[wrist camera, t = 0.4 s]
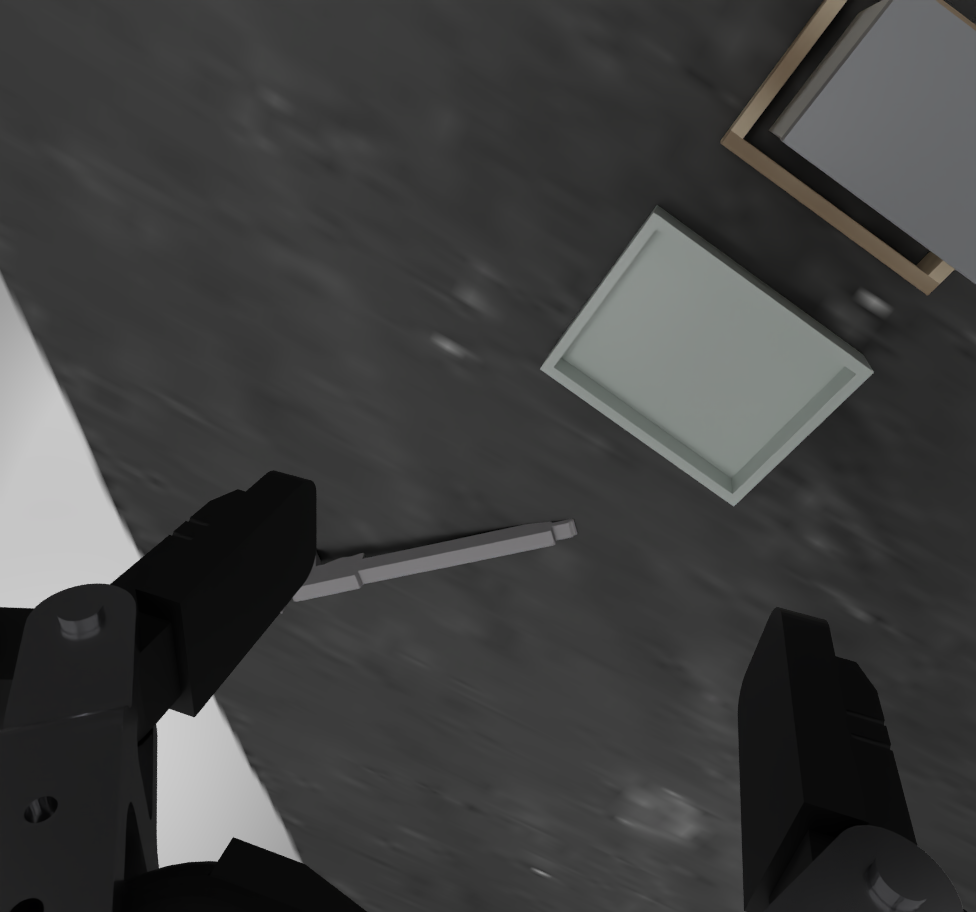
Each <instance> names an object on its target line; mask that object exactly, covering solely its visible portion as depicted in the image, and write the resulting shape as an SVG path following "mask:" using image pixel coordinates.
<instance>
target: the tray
mask: <svg viewBox="0 0 976 912" xmlns="http://www.w3.org/2000/svg"><path fill="white" fill-rule="evenodd" d="M540 369H541V370H542V371H543V372H545V373H546V374H548V375H549V376H550V377H552V378H553V379H555V380H556V381H557V382H559V383H560V384H562V385H563V386H564V387H566V388H567V389H569V390H570V391H572V392H573V393H574V394H576V395H577V396H579V397H580V398H581V399H583V400H584V401H586V402H587V403H588V404H590V405H591V406H593V407H594V408H596V409H597V410H598V411H600V412H601V413H603V414H604V415H605V416H607V417H608V418H610V419H611V420H612V421H614V422H615V423H617V424H618V425H619V426H621V427H622V428H624V429H625V430H627V431H628V432H629V433H631V434H632V435H634V436H635V437H636V438H638V439H639V440H641V441H642V442H643V443H645V444H646V445H648V446H649V447H650V448H652V449H653V450H655V451H656V452H658V453H659V454H660V455H662V456H663V457H665V458H666V459H667V460H669V461H670V462H672V463H673V464H674V465H676V466H677V467H679V468H680V469H682V470H683V471H684V472H686V473H687V474H689V475H690V476H691V477H693V478H694V479H696V480H697V481H698V482H700V483H701V484H703V485H704V486H705V487H707V488H708V489H710V490H711V491H713V492H714V493H715V494H717V495H718V496H720V497H721V498H722V499H724V500H725V501H727V502H728V503H729V504H731V505H732V506H735V505H736V504H737V503H738V502H739V501H740V500H741V499H742V498H743V497H744V496H745V495H746V494H747V493H748V492H749V491H750V490H751V489H752V488H754V487H755V486H756V485H757V484H758V483H759V482H760V481H761V480H762V479H763V478H764V477H765V476H766V475H767V474H768V473H769V472H770V471H771V470H772V469H773V468H774V467H776V466H777V465H778V464H779V463H780V462H781V461H782V460H783V459H784V458H785V457H786V456H787V455H788V454H789V453H790V452H791V451H792V450H793V449H794V448H795V447H796V446H798V445H799V444H800V443H801V442H802V441H803V440H804V439H805V438H806V437H807V436H808V435H809V434H810V433H811V432H812V431H813V430H814V429H815V428H816V427H817V426H818V425H819V424H821V423H822V422H823V421H824V420H825V419H826V418H827V417H828V416H829V415H830V414H831V413H832V412H833V411H834V410H835V409H836V408H837V407H838V406H839V405H840V404H841V403H843V402H844V401H845V400H846V399H847V398H848V397H849V396H850V395H851V394H852V393H853V392H854V391H855V390H856V389H857V388H858V387H859V386H860V385H861V384H862V383H863V382H864V381H866V380H867V379H868V378H869V377H870V376H871V375H872V374H873V373H874V371H873V370H872V368H871V366H870V365H869V363H868V362H867V360H866V358H865V357H864V355H863V354H862V353H860V352H859V351H858V350H856V349H855V348H854V347H852V346H851V345H849V344H848V343H847V342H845V341H844V340H843V339H841V338H840V337H838V336H837V335H836V334H834V333H833V332H832V331H830V330H829V329H827V328H826V327H825V326H823V325H822V324H821V323H819V322H818V321H816V320H815V319H814V318H812V317H811V316H810V315H808V314H807V313H805V312H804V311H803V310H801V309H800V308H799V307H797V306H796V305H794V304H793V303H792V302H790V301H789V300H788V299H786V298H785V297H783V296H782V295H781V294H779V293H778V292H777V291H775V290H774V289H772V288H771V287H770V286H768V285H767V284H766V283H764V282H763V281H761V280H760V279H759V278H757V277H756V276H755V275H753V274H752V273H750V272H749V271H748V270H746V269H745V268H744V267H742V266H741V265H739V264H738V263H737V262H735V261H734V260H733V259H731V258H730V257H728V256H727V255H726V254H724V253H723V252H722V251H720V250H719V249H717V248H716V247H715V246H713V245H712V244H711V243H709V242H708V241H706V240H705V239H704V238H702V237H701V236H700V235H698V234H697V233H695V232H694V231H693V230H691V229H690V228H689V227H687V226H686V225H684V224H683V223H682V222H680V221H679V220H678V219H676V218H675V217H673V216H672V215H671V214H669V213H668V212H667V211H665V210H664V209H663V208H661V207H660V206H658V205H656V207H655V208H654V210H653V211H652V212H651V214H650V215H649V216H648V218H647V219H646V221H645V222H644V223H643V225H642V226H641V228H640V229H639V230H638V232H637V233H636V234H635V236H634V237H633V239H632V240H631V241H630V243H629V244H628V245H627V247H626V248H625V250H624V251H623V252H622V254H621V255H620V257H619V258H618V259H617V261H616V262H615V263H614V265H613V266H612V268H611V269H610V270H609V272H608V273H607V274H606V276H605V277H604V279H603V280H602V281H601V283H600V284H599V285H598V287H597V288H596V290H595V291H594V292H593V294H592V295H591V297H590V298H589V299H588V301H587V302H586V303H585V305H584V306H583V308H582V309H581V310H580V312H579V313H578V314H577V316H576V317H575V319H574V320H573V321H572V323H571V324H570V326H569V327H568V328H567V330H566V331H565V332H564V334H563V335H562V337H561V338H560V339H559V341H558V342H557V343H556V345H555V346H554V348H553V349H552V350H551V352H550V353H549V355H548V356H547V358H546V360H545V361H544V363H543V365H542V366H541V368H540Z"/></svg>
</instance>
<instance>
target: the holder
mask: <svg viewBox="0 0 976 912" xmlns="http://www.w3.org/2000/svg"><path fill="white" fill-rule="evenodd" d="M846 1H847V0H824V1H823V2H822V3H821V5H820V6H819V8H818V9H817V10H816V12H815V13H814V14H813V16H812V17H811V18H810V20H809V21H808V22H807V24H806V25H805V27H804V28H803V29H802V31H801V32H800V33H799V35H798V36H797V37H796V39H795V40H794V41H793V43H792V44H791V46H790V47H789V48H788V50H787V51H786V52H785V54H784V55H783V56H782V58H781V59H780V60H779V62H778V63H777V64H776V66H775V67H774V69H773V70H772V71H771V73H770V74H769V75H768V77H767V78H766V79H765V81H764V82H763V83H762V85H761V86H760V88H759V89H758V90H757V92H756V93H755V94H754V96H753V97H752V98H751V100H750V101H749V102H748V104H747V105H746V107H745V108H744V109H743V111H742V112H741V113H740V115H739V116H738V117H737V119H736V120H735V121H734V123H733V124H732V126H731V127H730V128H729V130H728V131H727V132H726V134H725V135H724V136H723V138H722V139H721V140H720V142H721V144H722V145H724V146H725V147H726V148H728V149H729V150H730V151H732V152H733V153H734V154H736V155H737V156H739V157H740V158H741V159H743V160H744V161H745V162H747V163H748V164H749V165H751V166H752V167H753V168H755V169H756V170H758V171H759V172H760V173H762V174H763V175H764V176H766V177H767V178H768V179H770V180H771V181H773V182H774V183H775V184H777V185H778V186H779V187H781V188H782V189H783V190H785V191H786V192H787V193H789V194H790V195H792V196H793V197H794V198H796V199H797V200H798V201H800V202H801V203H802V204H804V205H805V206H807V207H808V208H809V209H811V210H812V211H813V212H815V213H816V214H817V215H819V216H820V217H821V218H823V219H824V220H826V221H827V222H828V223H830V224H831V225H832V226H834V227H835V228H836V229H838V230H839V231H841V232H842V233H843V234H845V235H846V236H847V237H849V238H850V239H851V240H853V241H854V242H855V243H857V244H858V245H860V246H861V247H862V248H864V249H865V250H866V251H868V252H869V253H870V254H872V255H873V256H875V257H876V258H877V259H879V260H880V261H881V262H883V263H884V264H885V265H887V266H888V267H889V268H891V269H892V270H894V271H895V272H896V273H898V274H899V275H900V276H902V277H903V278H904V279H906V280H907V281H909V282H910V283H911V284H913V285H914V286H915V287H917V288H918V289H919V290H921V291H922V292H924V293H925V294H926V295H929V294H930V293H931V292H932V291H933V290H934V289H935V288H936V287H937V286H938V285H939V284H940V283H941V282H942V281H943V280H944V279H945V278H946V277H947V276H948V275H949V274H950V273H951V272H952V271H953V270H954V268H953V267H951V266H950V265H949V264H947V263H946V262H944V261H943V260H942V259H940V258H939V257H938V256H936V255H935V254H934V253H932V252H931V251H930V252H929V253H928V254H927V255H926V256H925V257H924V258H923V259H922V260H921V261H920V262H919V263H918V264H917V265H914V264H913V263H912V262H910V261H909V260H908V259H906V258H905V257H904V256H902V255H901V254H900V253H898V252H897V251H895V250H894V249H893V248H891V247H890V246H889V245H887V244H886V243H885V242H883V241H882V240H881V239H879V238H878V237H876V236H875V235H874V234H872V233H871V232H870V231H868V230H867V229H866V228H864V227H863V226H862V225H860V224H859V223H857V222H856V221H855V220H853V219H852V218H851V217H849V216H848V215H847V214H845V213H844V212H843V211H841V210H840V209H838V208H837V207H836V206H834V205H833V204H832V203H830V202H829V201H828V200H826V199H825V198H824V197H822V196H821V195H819V194H818V193H817V192H815V191H814V190H813V189H811V188H810V187H809V186H807V185H806V184H805V183H803V182H802V181H800V180H799V179H798V178H796V177H795V176H794V175H792V174H791V173H790V172H788V171H787V170H786V169H784V168H783V167H781V166H780V165H779V164H777V163H776V162H775V161H773V160H772V159H771V158H769V157H768V156H767V155H765V154H764V153H762V152H761V151H760V150H758V149H757V148H756V147H754V146H753V145H752V144H750V143H749V142H748V141H746V140H745V139H743V138H744V137H745V135H746V134H747V133H748V131H749V130H750V129H751V127H752V126H753V125H754V123H755V122H756V121H757V119H758V118H759V117H760V115H761V114H762V113H763V111H764V110H765V109H766V107H767V106H768V105H769V103H770V102H771V101H772V99H773V98H774V97H775V95H776V94H777V93H778V91H779V90H780V89H781V87H782V86H783V85H784V83H785V82H786V81H787V79H788V78H789V77H790V75H791V74H792V73H793V72H794V70H795V69H796V68H797V66H798V65H799V64H800V62H801V61H802V60H803V58H804V57H805V56H806V54H807V53H808V52H809V50H810V49H811V48H812V46H813V45H814V44H815V42H816V41H817V40H818V38H819V37H820V36H821V34H822V33H823V32H824V30H825V29H826V28H827V26H828V25H829V24H830V22H831V21H832V20H833V18H834V17H835V16H836V14H837V13H838V12H839V11H840V9H841V8H842V7H843V5H844V4H845V3H846ZM936 1H937V2H938V3H939V4H941V5H942V6H943V7H945V8H946V9H947V10H949V11H950V12H951V13H953V14H954V15H955V16H957V17H958V18H959V19H961V20H962V21H963V22H965V23H966V24H967V25H969V26H970V27H971V28H972V29H974V30H975V31H976V25H975V24H974V23H972V22H971V21H970V20H968V19H967V18H966V17H964V16H963V15H962V14H960V13H959V12H958V11H956V10H955V9H954V8H952V7H951V6H950V5H949V4H947V3H946V2H945V1H943V0H936Z"/></svg>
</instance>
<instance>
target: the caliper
mask: <svg viewBox="0 0 976 912" xmlns="http://www.w3.org/2000/svg"><path fill="white" fill-rule="evenodd" d="M577 534H578V533H577V529H576V526H575V522H574V519H568V520H563V521H558V522H554V523H552V522H551V521H550V522H542V523H533V524H525V525H520V526H516V527H511V528H506V529H502V530H497V531H492V532H488V533H483V534H478V535H474V536H469V537H464V538H460V539H455V540H450V541H446V542H441V543H436V544H431V545H426V546H422V547H417V548H412V549H407V550H403V551H398V552H393V553H388V554H383V555H379V556H374V557H369V558H366V557H365V554H364V553H360V554H357V555H354V556H350V557H342V558H339V559H336V560H333V561H331V562H328V563H326V564H324V565H321V560H320V558H319V556H318V554H317V551H316V556H315V561H314V564H313V567H312V570H311V572H310V574H309V576H308V578H307V580H306V581H305V583H304V584H303V585H302V587H301V588H300V589H299V590H298V592H297V593H296V594H295V595H294V596H293V599H294V601H295V602H297V601H302V600H307V599H311V598H316V597H321V596H326V595H330V594H335V593H340V592H345V591H349V590H354V589H359V588H361V587H362V585H363V584H366V583H371V582H376V581H381V580H386V579H391V578H396V577H401V576H406V575H410V574H415V573H420V572H425V571H430V570H435V569H440V568H445V567H450V566H455V565H460V564H465V563H470V562H475V561H479V560H484V559H489V558H494V557H499V556H504V555H509V554H514V553H518V552H523V551H528V550H533V549H538V548H543V547H548V546H552V545H555V543H556V540H561V539H566V538H570V537H573V536H574V535H577ZM285 608H286V606H285V607H284V609H283V610H282V611H281V612H280V613H283V611H284V610H285Z"/></svg>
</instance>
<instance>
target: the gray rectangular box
mask: <svg viewBox="0 0 976 912" xmlns="http://www.w3.org/2000/svg"><path fill="white" fill-rule="evenodd" d="M769 131H770V132H771V133H773V134H774V135H776V136H777V137H778V138H780V140H781V141H782V142H783V143H785V144H786V145H787V146H789V147H790V148H791V149H793V150H794V151H796V152H797V153H798V154H800V155H801V156H802V157H804V158H805V159H806V160H808V161H809V162H810V163H812V164H813V165H815V166H816V167H817V168H819V169H820V170H821V171H823V172H824V173H825V174H827V175H828V176H829V177H831V178H832V179H833V180H835V181H836V182H838V183H839V184H840V185H842V186H843V187H844V188H846V189H847V190H848V191H850V192H851V193H852V194H854V195H855V196H856V197H858V198H859V199H861V200H862V201H863V202H865V203H866V204H867V205H869V206H870V207H871V208H873V209H874V210H875V211H877V212H878V213H880V214H881V215H882V216H884V217H885V218H886V219H888V220H889V221H890V222H892V223H893V224H894V225H896V226H897V227H898V228H900V229H901V230H903V231H904V232H905V233H907V234H908V235H909V236H911V237H912V238H913V239H915V240H916V241H917V242H919V243H920V244H921V245H923V246H924V247H926V248H927V249H928V250H930V251H931V252H932V253H934V254H935V255H936V256H938V257H939V258H940V259H942V260H943V261H944V262H946V263H947V264H949V265H950V266H951V267H953V268H954V269H955V270H957V271H958V272H959V273H961V274H962V275H963V276H965V277H966V278H968V279H969V280H970V281H972V282H973V283H975V284H976V31H975V30H974V29H972V28H971V27H970V26H969V25H967V24H966V23H965V22H963V21H962V20H961V19H959V18H958V17H957V16H955V15H954V14H953V13H951V12H950V11H949V10H947V9H946V8H945V7H943V6H942V5H941V4H939V3H938V2H937V1H936V0H882V1H880V2H878V3H876V4H874V5H872V6H870V7H868V8H867V9H865V10H863V11H861V12H859V13H858V14H857V16H856V17H855V18H854V20H853V21H852V22H851V23H850V25H849V26H848V27H847V29H846V30H845V31H844V33H843V34H842V35H841V36H840V38H839V39H838V40H837V42H836V43H835V44H834V46H833V47H832V48H831V49H830V51H829V52H828V53H827V55H826V56H825V57H824V59H823V60H822V61H821V62H820V64H819V65H818V66H817V68H816V69H815V70H814V72H813V73H812V74H811V75H810V77H809V78H808V79H807V81H806V82H805V83H804V85H803V86H802V87H801V88H800V90H799V91H798V92H797V94H796V95H795V96H794V98H793V99H792V100H791V101H790V103H789V104H788V105H787V107H786V108H785V109H784V111H783V112H782V113H781V114H780V116H779V117H778V118H777V120H776V121H775V122H774V124H773V125H772V126H771V127H770V129H769Z"/></svg>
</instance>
